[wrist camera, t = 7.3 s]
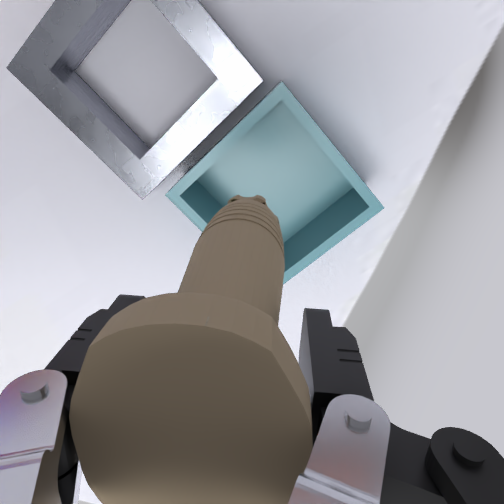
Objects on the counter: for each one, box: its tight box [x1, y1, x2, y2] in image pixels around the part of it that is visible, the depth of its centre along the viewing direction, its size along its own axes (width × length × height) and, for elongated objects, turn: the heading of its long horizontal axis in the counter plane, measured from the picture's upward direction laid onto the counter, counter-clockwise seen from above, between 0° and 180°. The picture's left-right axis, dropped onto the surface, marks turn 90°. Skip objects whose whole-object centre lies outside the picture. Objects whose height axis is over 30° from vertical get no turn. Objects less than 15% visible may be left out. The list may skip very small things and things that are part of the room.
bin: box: [166, 82, 384, 284], centre depth 33 cm, size 12×12×7 cm
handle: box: [69, 195, 313, 504], centre depth 15 cm, size 5×6×15 cm
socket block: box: [7, 0, 264, 200], centre depth 31 cm, size 14×14×4 cm
